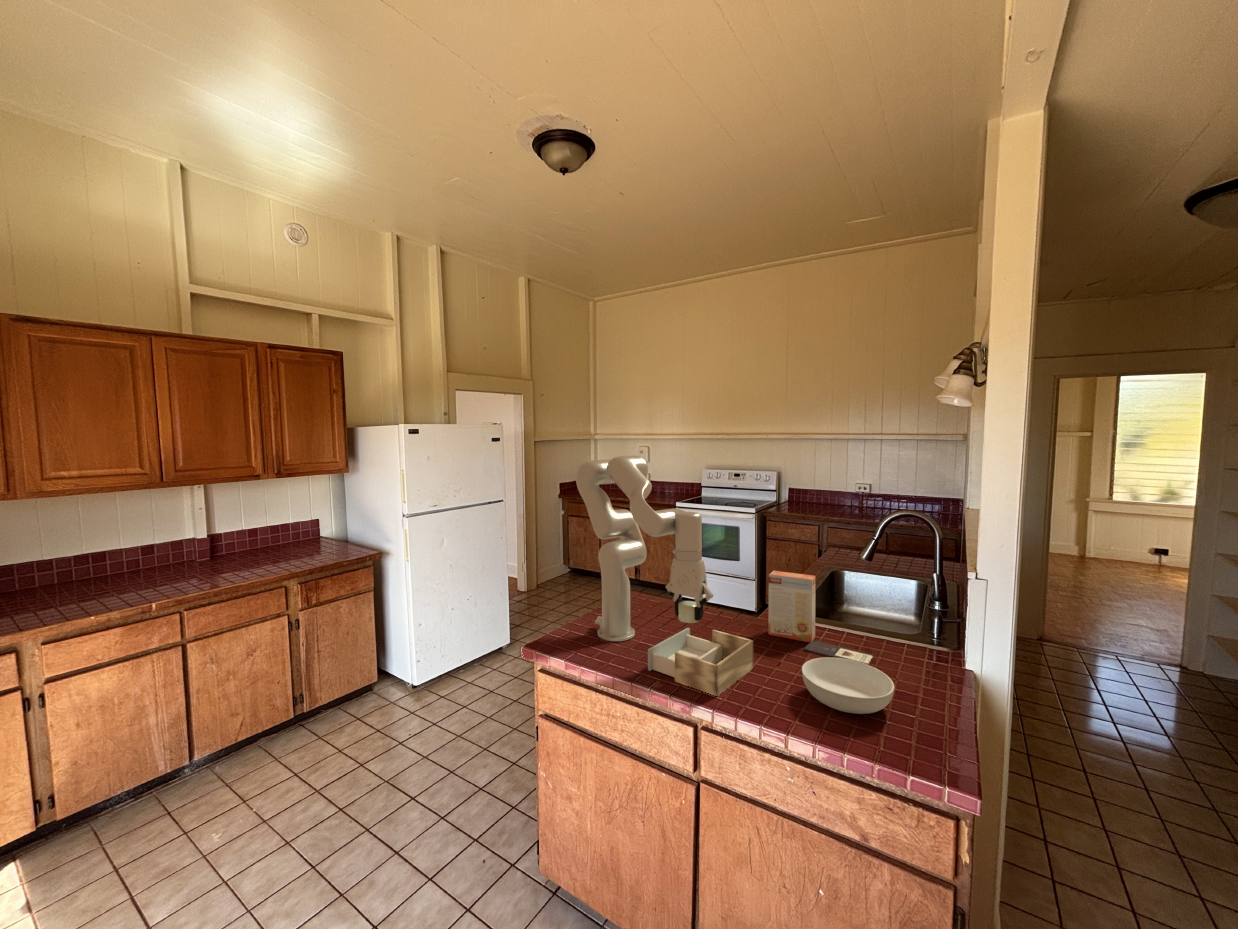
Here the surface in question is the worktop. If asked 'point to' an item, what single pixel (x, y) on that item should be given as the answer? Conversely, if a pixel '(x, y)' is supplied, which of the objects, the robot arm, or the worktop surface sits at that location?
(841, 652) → the chocolate bar
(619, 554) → the robot arm
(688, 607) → the cream glossy rounded part
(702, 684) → the sleeve
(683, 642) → the tray
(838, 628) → the worktop surface
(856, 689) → the serving bowl
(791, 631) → the cracker box
